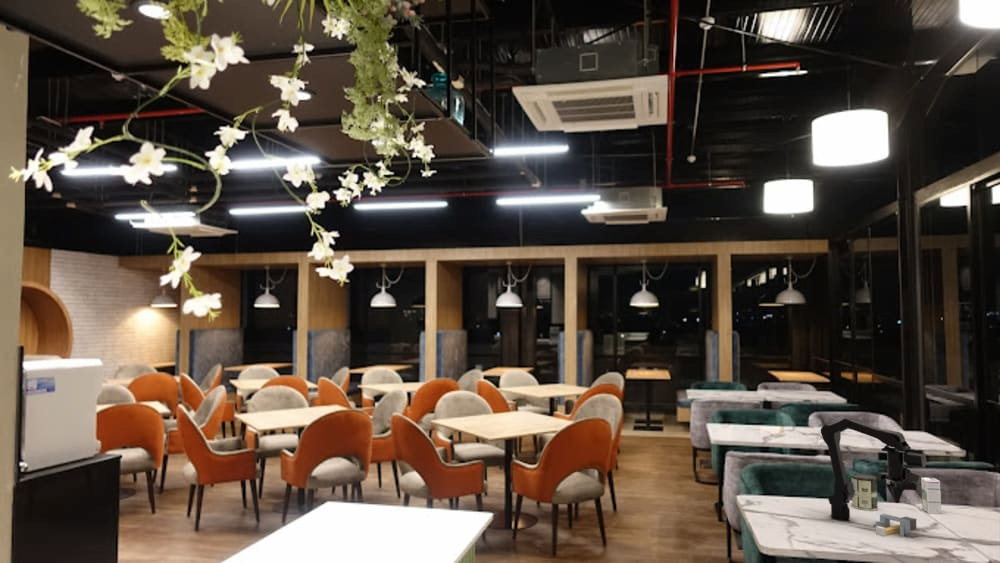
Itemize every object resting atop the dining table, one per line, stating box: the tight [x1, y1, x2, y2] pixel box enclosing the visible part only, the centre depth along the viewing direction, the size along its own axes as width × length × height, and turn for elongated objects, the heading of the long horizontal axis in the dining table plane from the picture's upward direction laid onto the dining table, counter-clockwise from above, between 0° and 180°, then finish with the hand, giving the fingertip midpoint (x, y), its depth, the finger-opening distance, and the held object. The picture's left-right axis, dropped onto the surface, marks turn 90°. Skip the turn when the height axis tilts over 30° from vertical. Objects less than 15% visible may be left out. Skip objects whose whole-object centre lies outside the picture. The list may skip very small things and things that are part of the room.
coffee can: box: [850, 473, 879, 511], centre depth 300 cm, size 10×10×14 cm
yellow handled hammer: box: [875, 516, 917, 537], centre depth 264 cm, size 22×4×4 cm, turn 120°
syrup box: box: [920, 477, 942, 515], centre depth 294 cm, size 6×6×14 cm
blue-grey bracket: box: [872, 513, 919, 538], centre depth 264 cm, size 6×16×5 cm, turn 29°
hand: (896, 502), depth 265 cm, fingers closed
